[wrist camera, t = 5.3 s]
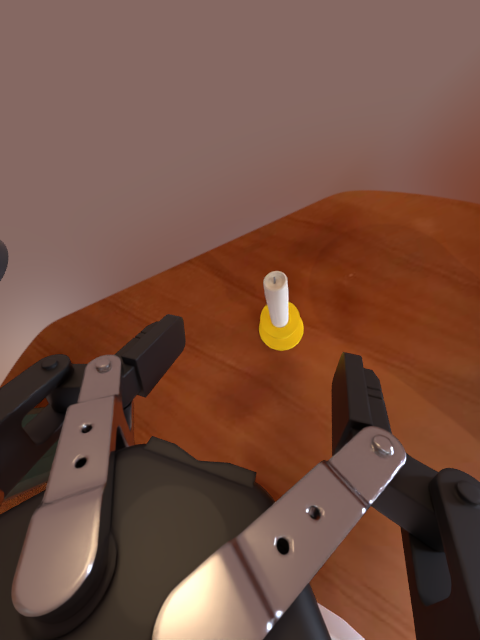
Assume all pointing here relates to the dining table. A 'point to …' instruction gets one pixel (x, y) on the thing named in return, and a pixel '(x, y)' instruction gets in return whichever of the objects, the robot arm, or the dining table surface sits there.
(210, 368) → the dining table surface
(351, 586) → the dining table surface
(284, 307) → the candle
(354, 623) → the dining table surface
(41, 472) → the cup
